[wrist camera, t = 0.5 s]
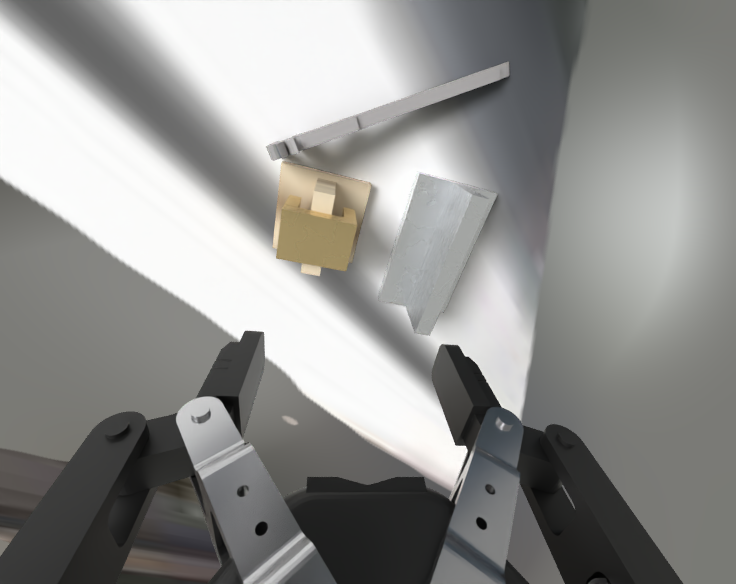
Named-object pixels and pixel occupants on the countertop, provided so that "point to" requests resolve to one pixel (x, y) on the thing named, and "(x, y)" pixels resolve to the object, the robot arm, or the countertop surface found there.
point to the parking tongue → (321, 198)
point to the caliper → (385, 112)
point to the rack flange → (433, 246)
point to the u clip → (315, 236)
